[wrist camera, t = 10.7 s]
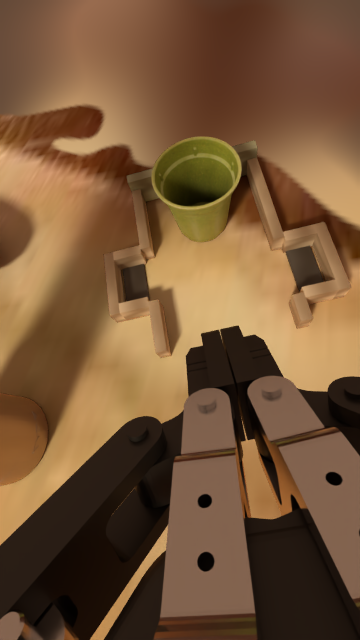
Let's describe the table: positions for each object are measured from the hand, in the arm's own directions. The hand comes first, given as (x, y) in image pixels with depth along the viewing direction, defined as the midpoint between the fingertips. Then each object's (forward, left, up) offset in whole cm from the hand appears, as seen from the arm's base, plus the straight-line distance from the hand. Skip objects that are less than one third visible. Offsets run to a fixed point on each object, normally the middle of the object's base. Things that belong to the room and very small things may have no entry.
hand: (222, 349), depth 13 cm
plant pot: (+2, +22, -22) cm, 31 cm away
